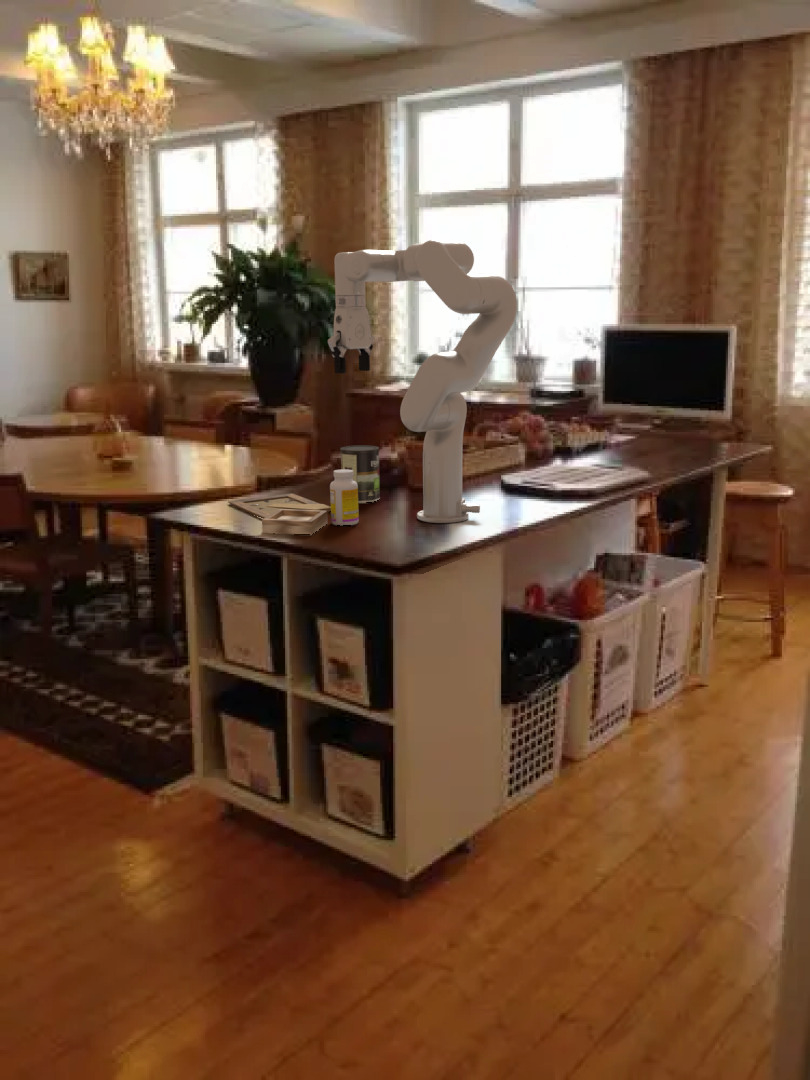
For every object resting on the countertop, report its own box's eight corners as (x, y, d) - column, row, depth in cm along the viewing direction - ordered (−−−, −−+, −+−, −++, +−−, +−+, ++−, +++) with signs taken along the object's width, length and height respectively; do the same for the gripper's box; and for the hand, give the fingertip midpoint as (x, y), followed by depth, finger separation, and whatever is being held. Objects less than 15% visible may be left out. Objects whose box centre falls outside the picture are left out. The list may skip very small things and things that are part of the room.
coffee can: (383, 496, 265) (382, 445, 262) (375, 504, 256) (374, 451, 252) (347, 495, 267) (345, 444, 264) (337, 503, 258) (335, 450, 254)
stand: (327, 523, 234) (327, 510, 233) (311, 535, 223) (311, 521, 222) (280, 521, 237) (280, 508, 236) (262, 533, 226) (261, 519, 225)
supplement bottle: (363, 521, 236) (362, 469, 233) (350, 527, 230) (349, 474, 227) (339, 519, 239) (337, 467, 235) (326, 525, 233) (324, 472, 230)
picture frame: (332, 514, 248) (292, 498, 267) (332, 507, 247) (292, 492, 267) (265, 523, 238) (228, 506, 258) (264, 516, 238) (228, 500, 257)
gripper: (339, 303, 237) (342, 374, 241) (383, 302, 250) (384, 370, 254) (316, 303, 241) (319, 373, 245) (360, 303, 254) (362, 369, 258)
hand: (352, 371), depth 250 cm, fingers open, 9 cm apart
